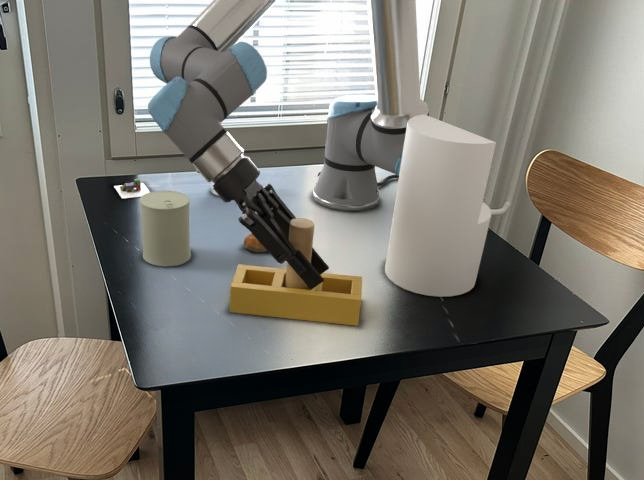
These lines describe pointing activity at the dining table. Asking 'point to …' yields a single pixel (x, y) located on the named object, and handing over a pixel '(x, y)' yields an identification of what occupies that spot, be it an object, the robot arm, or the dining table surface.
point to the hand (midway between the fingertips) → (320, 278)
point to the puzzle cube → (132, 189)
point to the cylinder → (439, 209)
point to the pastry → (253, 244)
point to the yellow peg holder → (295, 296)
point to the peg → (299, 248)
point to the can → (165, 228)
